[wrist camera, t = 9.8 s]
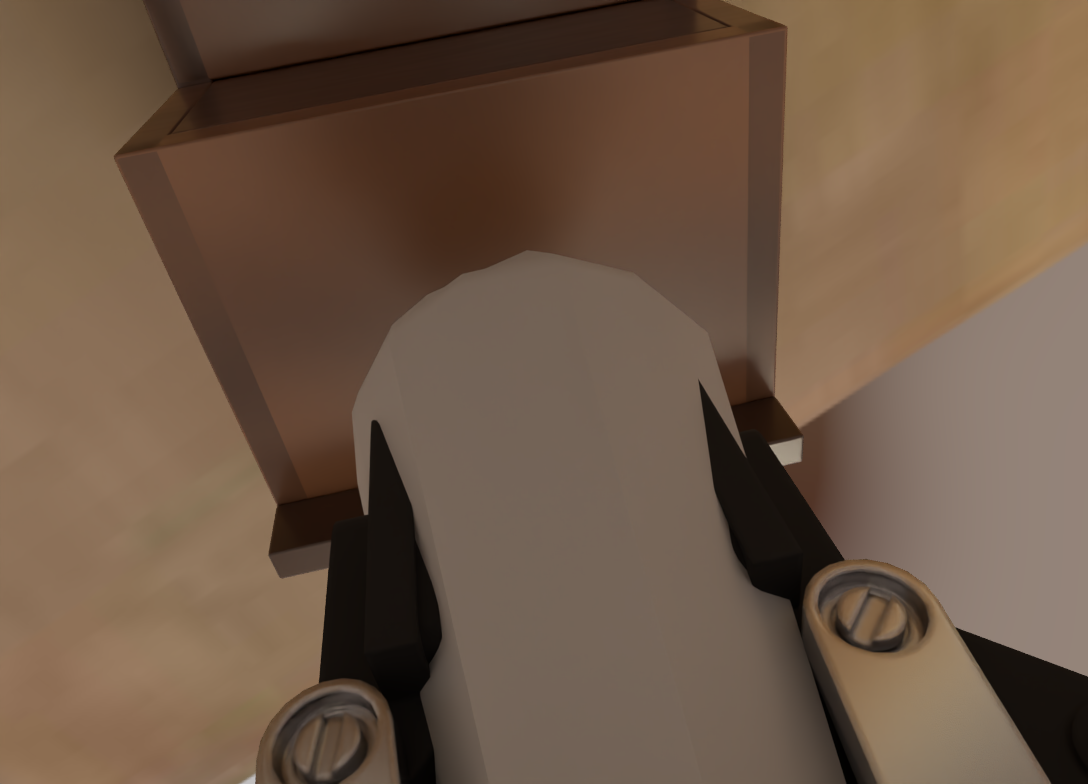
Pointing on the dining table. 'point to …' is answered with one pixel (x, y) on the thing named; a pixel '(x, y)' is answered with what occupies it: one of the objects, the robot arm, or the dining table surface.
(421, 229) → the spice rack
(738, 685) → the salt shaker
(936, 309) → the dining table surface
